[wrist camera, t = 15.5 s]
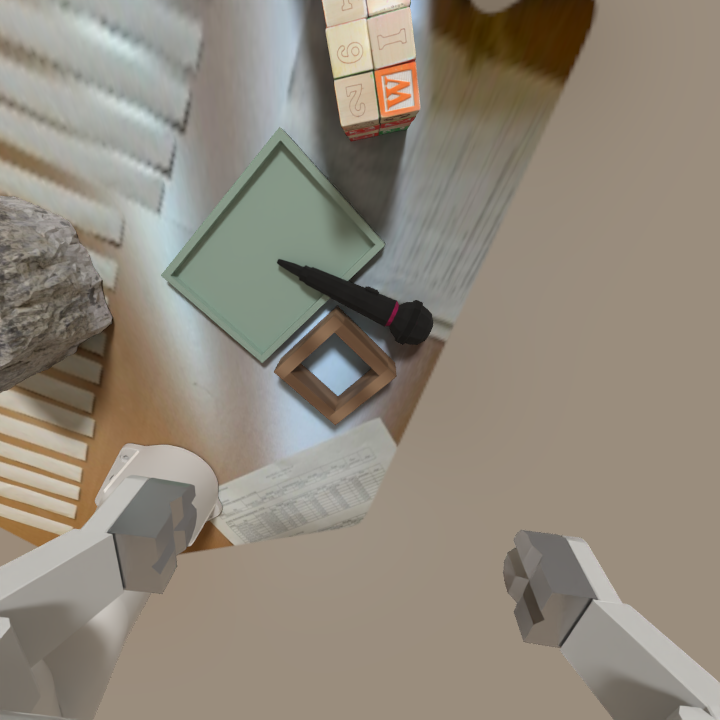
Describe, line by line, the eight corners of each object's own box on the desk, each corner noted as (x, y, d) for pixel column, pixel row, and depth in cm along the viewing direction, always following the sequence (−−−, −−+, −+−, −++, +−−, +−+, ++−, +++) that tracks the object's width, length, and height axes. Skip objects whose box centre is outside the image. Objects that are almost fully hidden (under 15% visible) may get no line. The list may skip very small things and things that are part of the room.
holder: (338, 409, 54) (335, 425, 51) (280, 358, 51) (273, 371, 48) (395, 362, 51) (396, 376, 47) (337, 305, 48) (334, 315, 44)
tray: (265, 358, 51) (262, 363, 50) (167, 272, 47) (160, 275, 45) (385, 243, 44) (385, 245, 43) (283, 129, 40) (279, 127, 38)
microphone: (292, 235, 45) (439, 305, 47) (277, 278, 48) (418, 344, 49) (278, 240, 40) (443, 318, 42) (262, 288, 43) (419, 360, 44)
